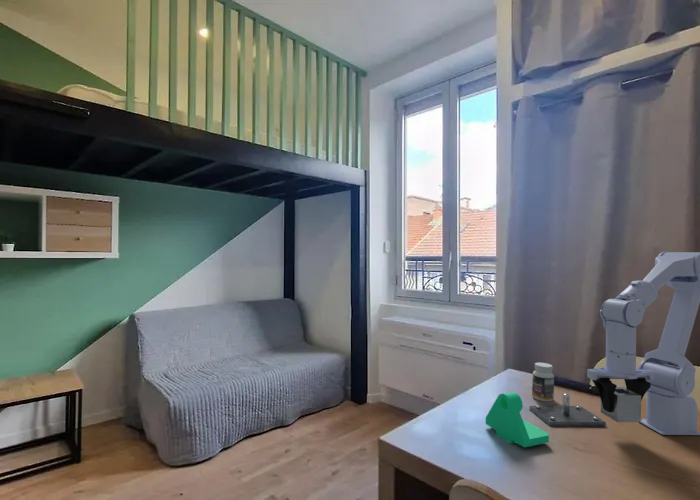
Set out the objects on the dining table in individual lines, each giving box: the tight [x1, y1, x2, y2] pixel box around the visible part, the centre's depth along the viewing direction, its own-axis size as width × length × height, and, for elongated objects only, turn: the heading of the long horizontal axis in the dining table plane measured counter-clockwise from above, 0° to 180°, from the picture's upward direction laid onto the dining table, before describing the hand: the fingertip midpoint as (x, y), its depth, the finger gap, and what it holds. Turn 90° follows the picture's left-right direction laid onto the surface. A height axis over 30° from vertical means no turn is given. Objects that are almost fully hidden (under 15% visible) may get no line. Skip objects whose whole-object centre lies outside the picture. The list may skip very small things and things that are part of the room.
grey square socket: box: [600, 386, 642, 423], centre depth 89 cm, size 5×5×6 cm
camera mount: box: [485, 391, 550, 448], centre depth 89 cm, size 12×8×10 cm, turn 21°
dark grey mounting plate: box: [529, 392, 607, 427], centre depth 100 cm, size 14×10×6 cm
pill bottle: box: [531, 362, 555, 403], centre depth 113 cm, size 6×6×10 cm
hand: (620, 410), depth 89 cm, fingers closed on grey square socket, 5 cm apart
